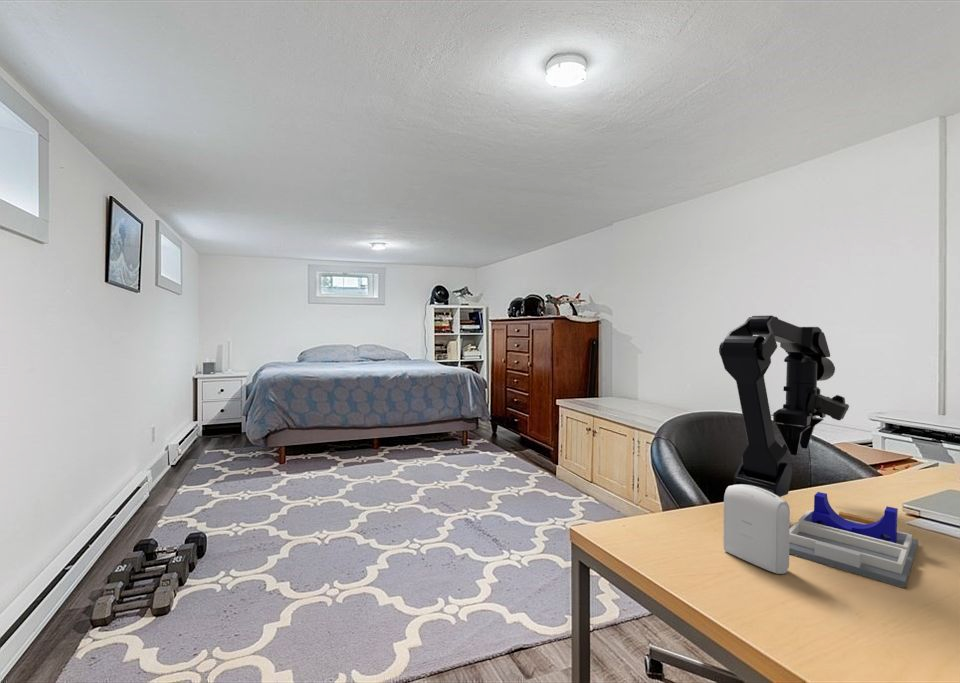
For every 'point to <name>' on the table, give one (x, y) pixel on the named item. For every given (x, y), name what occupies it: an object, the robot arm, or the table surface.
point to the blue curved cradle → (876, 530)
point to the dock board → (854, 549)
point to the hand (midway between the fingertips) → (799, 451)
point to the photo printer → (757, 527)
